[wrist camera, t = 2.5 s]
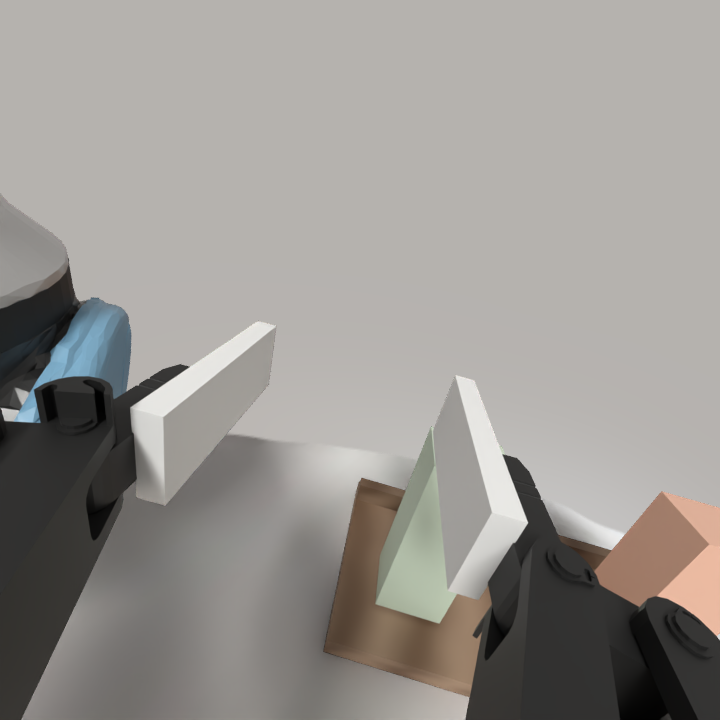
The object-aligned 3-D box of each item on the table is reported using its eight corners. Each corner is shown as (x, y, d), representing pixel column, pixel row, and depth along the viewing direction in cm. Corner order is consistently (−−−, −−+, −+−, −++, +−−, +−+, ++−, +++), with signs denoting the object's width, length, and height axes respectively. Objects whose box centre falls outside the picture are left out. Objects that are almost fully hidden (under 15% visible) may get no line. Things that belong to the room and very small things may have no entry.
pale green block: (375, 604, 25) (434, 465, 19) (380, 552, 29) (430, 424, 23) (439, 623, 25) (518, 489, 19) (435, 569, 29) (500, 444, 23)
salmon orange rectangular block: (584, 667, 25) (709, 544, 19) (560, 606, 29) (658, 488, 23) (651, 688, 25) (798, 569, 19) (618, 623, 28) (732, 509, 23)
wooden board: (323, 651, 23) (333, 623, 22) (356, 491, 37) (363, 467, 36) (708, 771, 22) (745, 751, 21) (596, 561, 36) (614, 540, 35)
